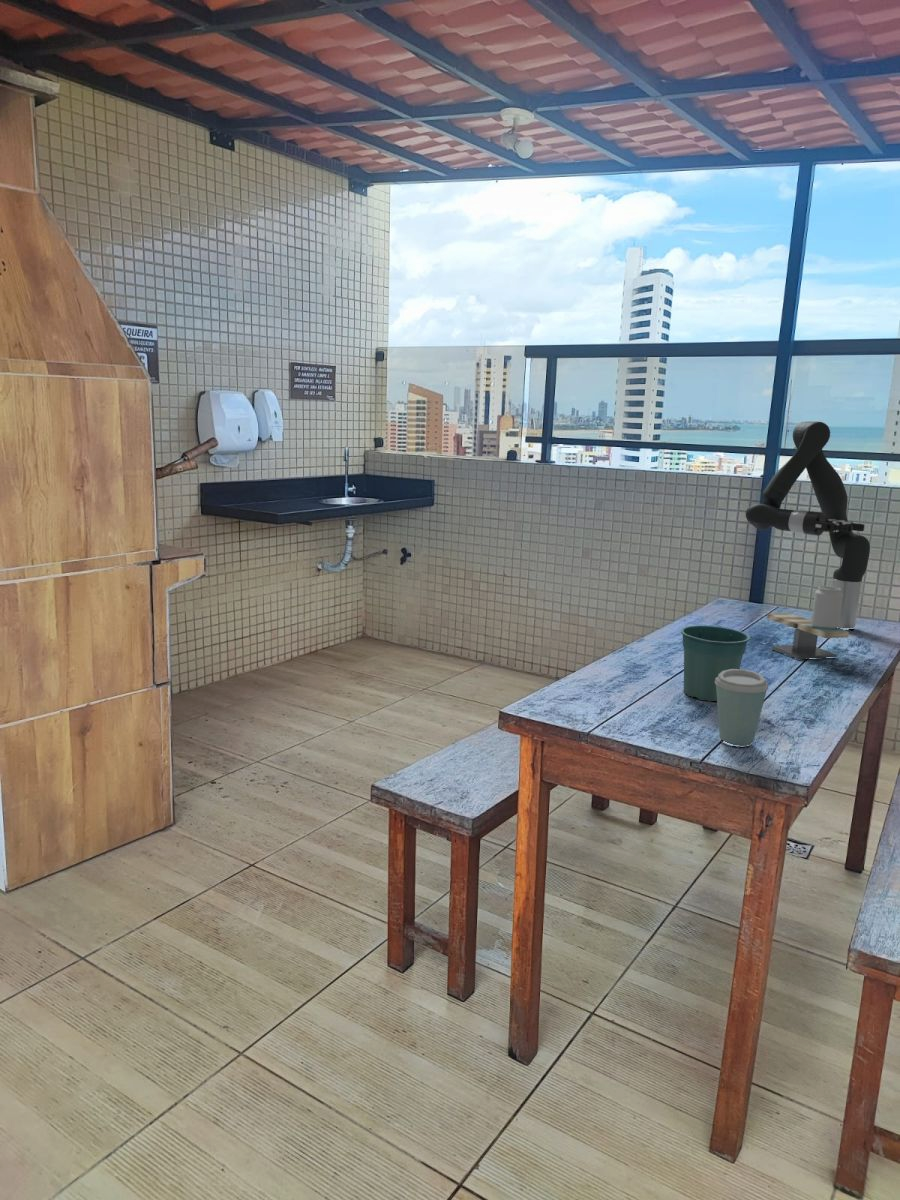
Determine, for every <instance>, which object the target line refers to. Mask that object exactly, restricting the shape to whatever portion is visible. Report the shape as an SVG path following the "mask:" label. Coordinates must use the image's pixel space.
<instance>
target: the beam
mask: <svg viewBox="0 0 900 1200" xmlns="http://www.w3.org/2000/svg"><path fill="white" fill-rule="evenodd" d="M766 619H767V620H770V621H773V622H776V623H779V624H781V625H785V626H788V627H791V628H793V629H800V630H803V631H806V632H809V633H812V634H815V635H818V636H819V637H821V638H824V639H832V638H833V639H836V638H837V639H838V638H839V639H841V638H849V635H850V634H849V633H850V632H849V630H843V629H839V628H836V629H834V630H825V629H819V628H816V627H814V626H813V625H812V624H811V620H812V619H810V618H806V617H802V616H798V615H796V614H792V613H789V612H784V613H783V612H782V613H779V612H777V613H776V612H775V613H767V617H766Z"/></svg>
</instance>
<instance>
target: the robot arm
mask: <svg viewBox="0 0 900 1200" xmlns="http://www.w3.org/2000/svg"><path fill="white" fill-rule="evenodd" d="M830 437H831V429H830V427H829V426H828V424H827V423H825V422H822V421H816V420H815V421H802V422H799V423H797V425H796V426H794V429H793V432H792V440H793V441H792V442H793V443H794V447H795V448H796V451H795V452H794V454H793V455H792V456H791V457H790V458H789V459H788V461H786V463H784V464H783V465H782V466H781V467H780V468H779V469H778V470H777V471H776V472H775V474H774V475H773V476H772V477H771V479H770V481H769V482H768V483H767V485H766V487H765V488H764V490H763V492H762V494H761V495H762V498H763V502H762V503H754V504H752V505H750V506H749V507H747V509H746V511H745V518H746V520H747V522H749V524H750V525H752V526H753V527H754V528H755V529H756V530H759V531H765V530H768V529H769V528H771V527H773V528H775V529H776V530H779V531H783V532H792V533H796V534H800V535H801V534H803V535H809V536H821V535H822V534H823V533H825V532H826V533H827V532H828V534H829V535H828V536H829V539H830V543H831V547H832V550H833V553H834V554H835V555H836V556H837V557H839V558H840V559H842V561H841V565H840V567H838V568H837V569H835V570H834V571H833V575H832V581H831V587H835V588H839V589H841V593H842V594H843V598H842V605H841V613H840V620H839V627H838V628H854V627H855V628H856V623H857V618H858V617H857V616H858V609H859V603H860V597H861V589H862V583H863V582H862V581H863V577H864V575H865V574H866V571H867V568H868V562H869V558H870V552H871V543H870V541H869V540H868V538H867V537H866V536H863V535H861V534H856V533H854V532H853V531H855V532H864V531H865V524H863V523H855V522H853V521H851V520H850V521H848V516H847V512H848V511H847V510H848V501H849V500H848V493H847V491H846V487H845V485H844V482H843V479H842V477H841V476H840V475H839V473H838V471H836V469H835V468H834V467H833V465H832V464H831V463H830V462H829V461H828V459H827V457H826V456H825V454H824V451H823V449H824V448H825V446H826V445H827V443H829V440H830ZM805 469H806V471H807V475H808V477H809V480H810V482H811V483H810V484H811V486H812V488H813V492H814V494H815V497H816V500H817V503H818V505H819V508H820V510H821V511H812V510H803V509H802V510H798V509H797V510H796V509H785V508H781V505H782V503H783V501H784V500H785V498H786V497H787V496H788V494H789V493H790V490H791V489H792V487H793V486H794V484H795V483H796V481H797V480H798V479H799V477H800V476H801V474H802V473H803V472H804V470H805Z"/></svg>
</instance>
